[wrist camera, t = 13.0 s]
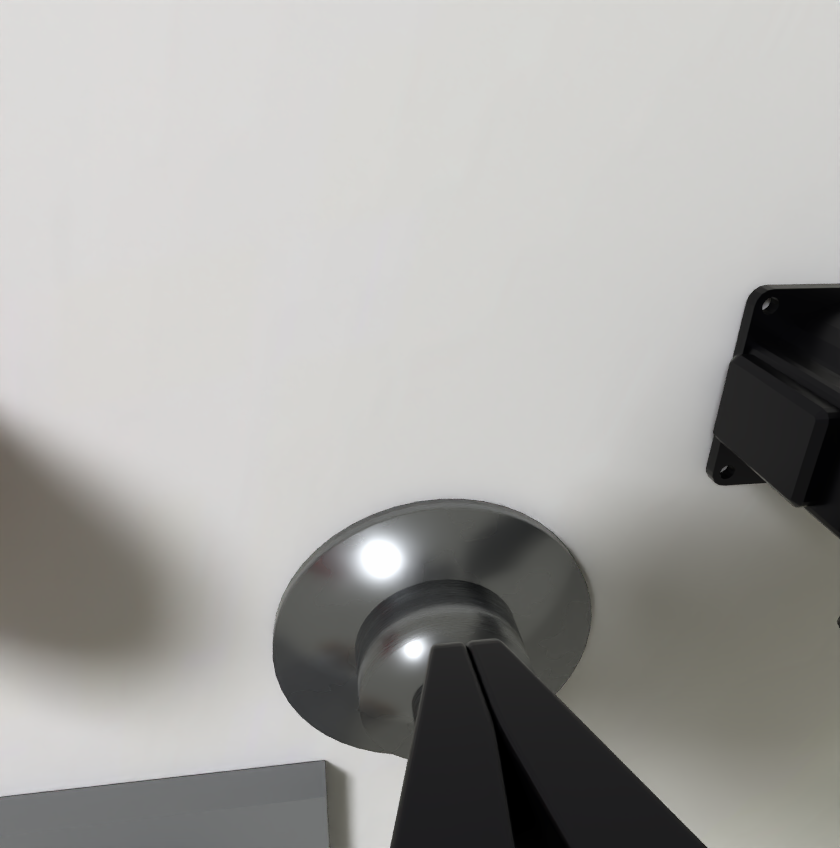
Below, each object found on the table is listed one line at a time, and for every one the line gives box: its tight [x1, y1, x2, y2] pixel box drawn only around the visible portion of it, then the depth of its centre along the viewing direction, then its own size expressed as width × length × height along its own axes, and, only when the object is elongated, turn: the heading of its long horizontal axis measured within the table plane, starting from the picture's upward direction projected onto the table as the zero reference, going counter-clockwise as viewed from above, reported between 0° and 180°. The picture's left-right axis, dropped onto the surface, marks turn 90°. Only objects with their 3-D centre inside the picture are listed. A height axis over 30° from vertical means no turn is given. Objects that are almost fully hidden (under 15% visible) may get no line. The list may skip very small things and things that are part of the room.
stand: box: [273, 499, 591, 759], centre depth 21 cm, size 11×11×6 cm
